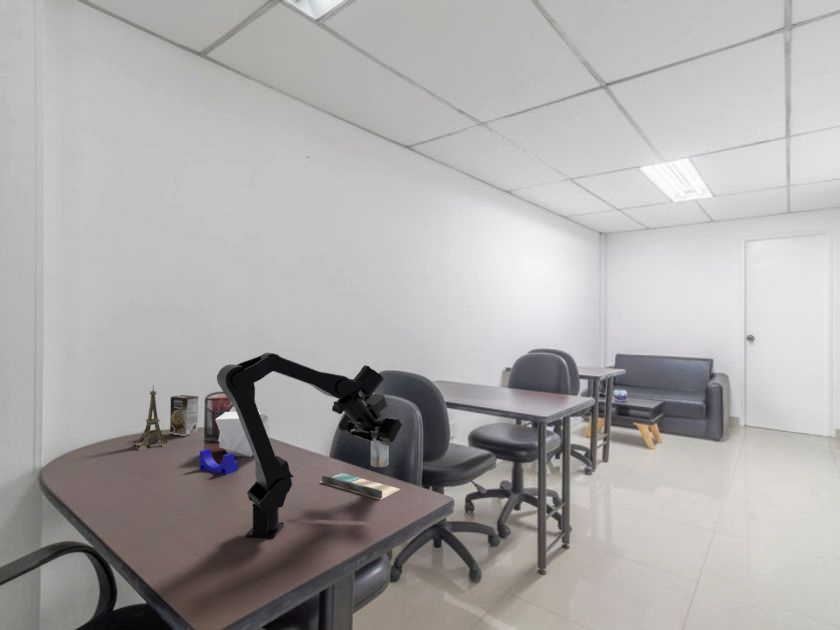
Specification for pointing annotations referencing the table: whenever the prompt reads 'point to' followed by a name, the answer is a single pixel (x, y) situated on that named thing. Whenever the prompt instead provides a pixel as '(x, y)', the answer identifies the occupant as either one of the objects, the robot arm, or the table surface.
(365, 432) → the robot arm
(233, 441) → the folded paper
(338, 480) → the rail board
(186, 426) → the coffee box
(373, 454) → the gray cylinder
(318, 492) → the table surface
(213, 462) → the cable clip
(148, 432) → the eiffel tower
